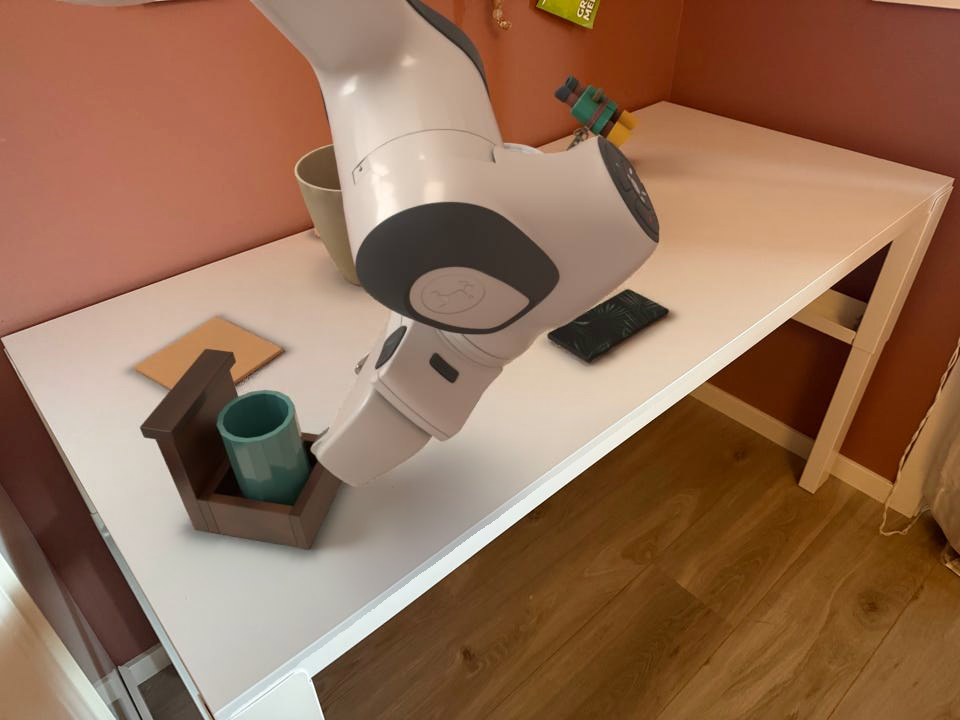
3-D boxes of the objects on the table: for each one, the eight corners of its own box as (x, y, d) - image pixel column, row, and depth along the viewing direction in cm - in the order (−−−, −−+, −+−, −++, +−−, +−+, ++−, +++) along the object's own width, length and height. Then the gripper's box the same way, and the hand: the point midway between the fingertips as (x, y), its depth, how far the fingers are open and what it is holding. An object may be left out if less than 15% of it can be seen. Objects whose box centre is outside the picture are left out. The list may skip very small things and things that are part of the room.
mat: (201, 408, 78) (199, 405, 78) (135, 370, 83) (133, 366, 83) (283, 351, 86) (282, 348, 85) (217, 319, 91) (216, 316, 91)
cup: (279, 538, 64) (252, 452, 57) (232, 507, 67) (200, 422, 60) (330, 492, 68) (309, 407, 61) (283, 465, 71) (259, 380, 64)
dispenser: (348, 466, 71) (327, 363, 62) (307, 553, 63) (276, 447, 55) (239, 450, 73) (205, 348, 65) (185, 532, 65) (138, 427, 57)
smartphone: (670, 309, 89) (588, 359, 81) (669, 316, 89) (588, 366, 82) (627, 287, 93) (545, 333, 85) (626, 293, 93) (545, 339, 86)
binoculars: (579, 204, 120) (633, 135, 110) (512, 154, 119) (560, 80, 109) (599, 170, 130) (650, 104, 120) (537, 124, 129) (584, 54, 119)
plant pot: (293, 280, 98) (268, 170, 88) (369, 235, 107) (354, 131, 97) (372, 316, 91) (355, 201, 81) (446, 265, 100) (439, 156, 90)
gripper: (458, 222, 57) (358, 310, 65) (373, 388, 41) (255, 478, 49) (513, 275, 59) (409, 354, 67) (452, 453, 43) (326, 529, 51)
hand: (343, 408), depth 58 cm, fingers open, 8 cm apart
